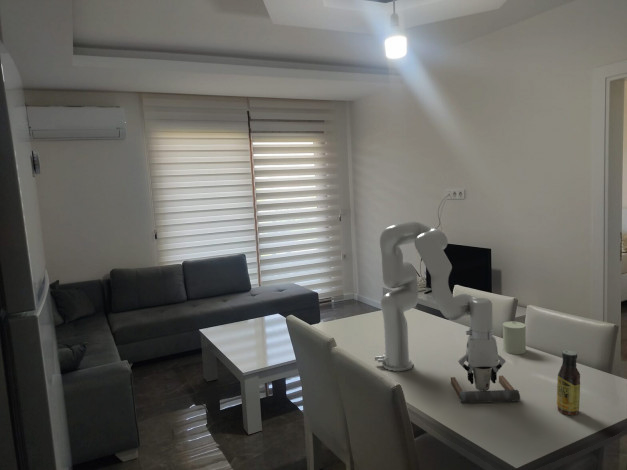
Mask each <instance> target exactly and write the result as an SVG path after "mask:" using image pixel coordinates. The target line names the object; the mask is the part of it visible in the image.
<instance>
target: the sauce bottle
mask: <svg viewBox="0 0 627 470" xmlns="http://www.w3.org/2000/svg"><path fill="white" fill-rule="evenodd" d="M561 356H562V364H561V366H560V368H559V371H558V373H557V384H556V386H557V388H556V407H557V410H558V411H559V413H562V414H564V415H566V416H576V415H578V414H579V413H580V412H579V410H580V397H581V396H580V395H581V374H580V371H579V369H578V368H577V359H578V353H577V351H574V350H568V349H566V350H563V351H562V353H561Z"/></svg>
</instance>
